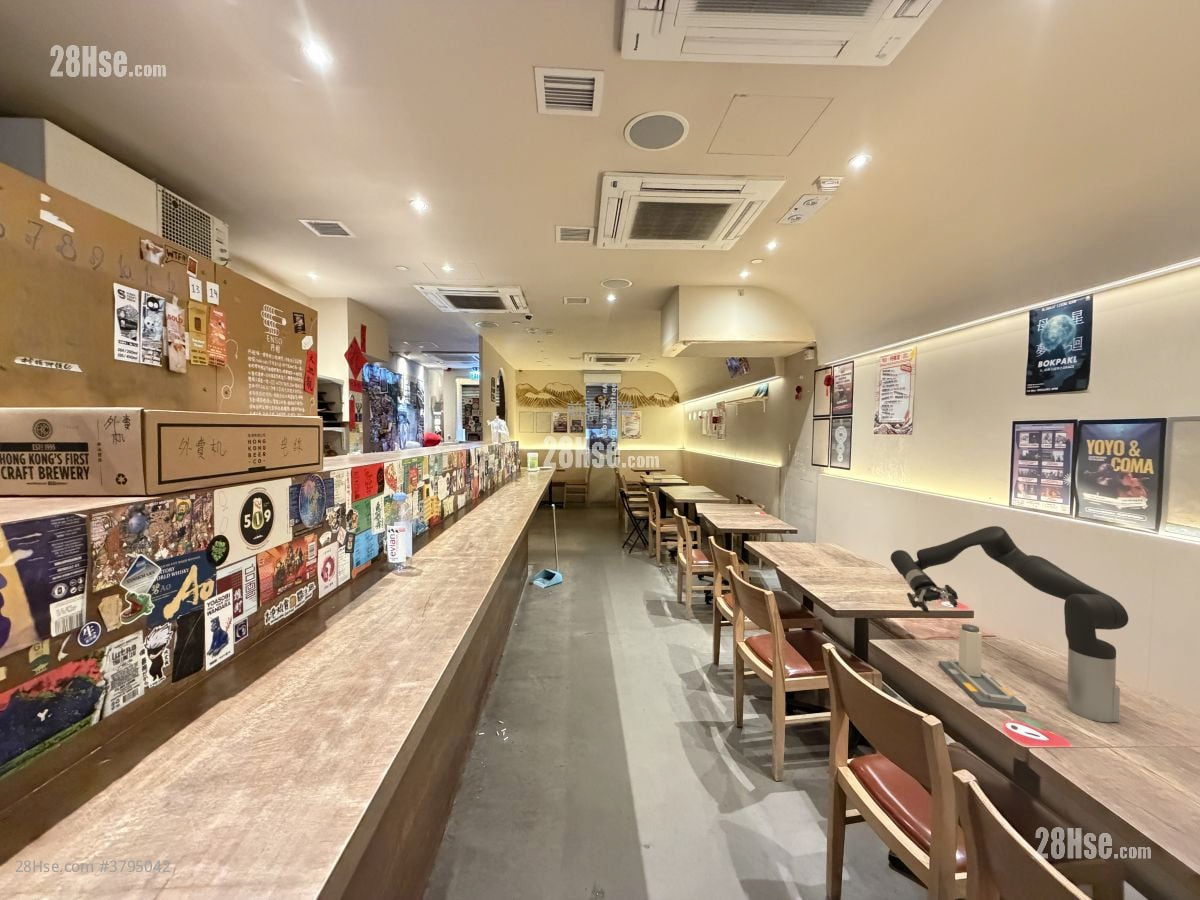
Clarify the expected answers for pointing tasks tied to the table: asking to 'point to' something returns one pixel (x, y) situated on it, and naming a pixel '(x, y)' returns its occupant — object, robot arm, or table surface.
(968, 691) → the switch panel
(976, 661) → the slider knob
